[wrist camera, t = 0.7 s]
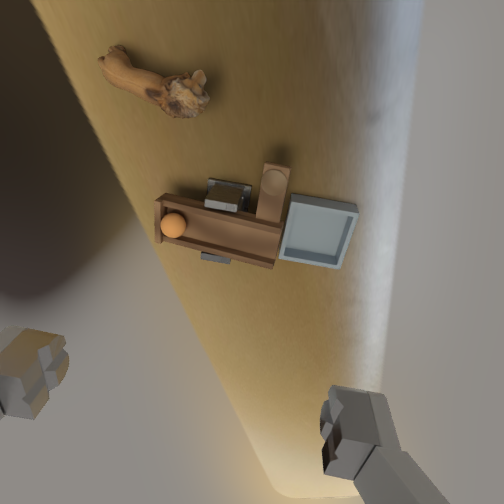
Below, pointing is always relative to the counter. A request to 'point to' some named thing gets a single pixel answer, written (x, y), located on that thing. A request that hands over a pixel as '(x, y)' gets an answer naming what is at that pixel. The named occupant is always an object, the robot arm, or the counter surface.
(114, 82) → the lion figurine
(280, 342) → the counter surface
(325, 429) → the robot arm
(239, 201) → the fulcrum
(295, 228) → the tray
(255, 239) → the lever
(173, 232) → the ball
